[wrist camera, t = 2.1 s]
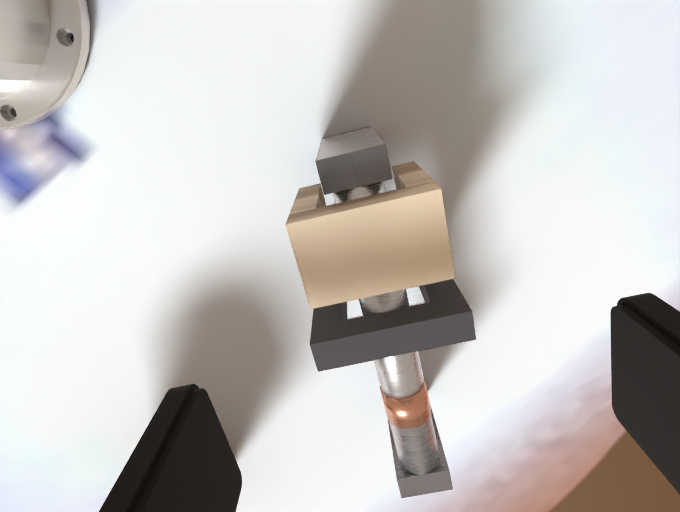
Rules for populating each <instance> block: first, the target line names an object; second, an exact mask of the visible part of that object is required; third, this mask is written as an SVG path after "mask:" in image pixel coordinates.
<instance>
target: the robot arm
mask: <svg viewBox="0 0 680 512" xmlns="http://www.w3.org/2000/svg"><path fill="white" fill-rule="evenodd" d="M72 34H73V37H74V41H73V42H72V41H71V35H72ZM89 40H90V22H89V14H88V7H87V0H0V130H2V129H13V128H17V127H22V126H27V125H31V124H34V123H36V122H38V121H40V120H42V119H45V118H47V117H49V116H50V115H51V114H52V113H54V112H55V111H56V110H58V109H59V108H60V107H61V106H63V105H64V103H65V102H66V101H67V100H68V98H69V97H70V96H71V95H72V93H73V92H74V91H75V89H76V87H77V85H78V83H79V81H80V79H81V77H82V74H83V72H84V70H85V65H86V61H87V57H88V52H89ZM611 371H612V407H613V410H614V413H615V415H616V417H617V419H618V420H619V422H620V423H621V424H622V426H623V427H624V428H625V429H626V430H627V432H628V433H629V434H630V435H631V436H632V438H633V439H634V440H635V441H636V442H637V444H638V445H639V446H640V447H641V448H642V450H643V451H644V452H645V453H646V454H647V456H648V457H649V458H650V459H651V460H652V461H653V463H654V464H655V465H656V466H657V468H658V469H659V470H660V471H661V472H662V474H663V475H664V476H665V477H666V478H667V480H668V481H669V482H670V483H671V484H672V485H673V487H674V488H675V489H676V490H677V492H678V493H679V494H680V312H679V311H678V310H676V309H675V308H673V307H672V306H670V305H669V304H667V303H666V302H664V301H663V300H661V299H660V298H658V297H657V296H655V295H653V294H651V293H645V294H640V295H635V296H630V297H625V298H621V299H620V300H619V301H618V303H617V306H615V307H613V308H612V309H611ZM241 487H242V477H241V472H240V469H239V467H238V464H237V462H236V460H235V457H234V455H233V453H232V450H231V448H230V446H229V443H228V441H227V438H226V436H225V434H224V431H223V429H222V427H221V424H220V422H219V419H218V417H217V415H216V412H215V410H214V408H213V405H212V403H211V400H210V398H209V396H208V393H207V392H206V390H205V389H199V387H198V386H197V385H195V384H191V385H186V386H181V387H176V388H172V389H169V391H168V392H167V393H166V395H165V397H164V399H163V400H162V402H161V404H160V406H159V407H158V409H157V411H156V413H155V414H154V416H153V418H152V420H151V421H150V423H149V425H148V427H147V428H146V430H145V432H144V434H143V435H142V437H141V439H140V441H139V442H138V444H137V446H136V448H135V449H134V451H133V453H132V455H131V456H130V458H129V460H128V462H127V463H126V465H125V467H124V469H123V470H122V472H121V474H120V476H119V477H118V479H117V481H116V483H115V484H114V486H113V488H112V490H111V491H110V493H109V495H108V497H107V498H106V500H105V502H104V504H103V505H102V507H101V509H100V511H99V512H236V507H237V503H238V499H239V495H240V491H241Z"/></svg>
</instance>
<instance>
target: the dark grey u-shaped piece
mask: <svg viewBox="0 0 680 512" xmlns="http://www.w3.org/2000/svg"><path fill="white" fill-rule="evenodd" d="M419 288H420V290H421V293H422V295H423V298H424V300H425V302H426V304H422V305H417V306H412V307H408V308H403V309H398V310H393V311H389V312H384V313H379V314H374V315H370V316H365V317H360V318H356V319H351V320H347V302H342V303H337V304H333V305H328V306H323V307H319V308H314V311H313V320H312V330H311V339H310V347H311V350H312V353H313V356H314V360H315V363H316V366H317V370H318V371H323V370H328V369H333V368H338V367H343V366H348V365H353V364H358V363H363V362H368V361H373V360H377V359H382V358H387V357H392V356H397V355H402V354H407V353H412V352H417V351H422V350H427V349H432V348H437V347H441V346H446V345H451V344H456V343H461V342H466V341H471V340H476V336H475V329H474V322H473V315H472V310H471V309H470V307H469V305H468V304H467V302H466V300H465V299H464V297H463V295H462V294H461V292H460V290H459V289H458V287H457V285H456V284H455V282H454V280H453V279H450V280H445V281H440V282H436V283H431V284H426V285H422V286H419Z"/></svg>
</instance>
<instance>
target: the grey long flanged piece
mask: <svg viewBox="0 0 680 512" xmlns="http://www.w3.org/2000/svg"><path fill="white" fill-rule="evenodd" d="M316 165H317V169H318V173H319V177H320V181H321V185H322V188H323V192H324V195H326V194H330V193H333V196H334V200H335V204H337V203H341V202H345V201H350V200H354V199H358V198H363V197H367V196H371V195H375V194H380V193H384V192H386V189H385V184H384V181H385V180H389V179H392V175H391V170H390V164H389V159H388V154H387V149H386V144H385V143H384V141H383V140H382V139H381V138H380V137H379V135H378V134H377V133H376V132H375V130H374V129H373V128H372V127H367V128H363V129H359V130H355V131H351V132H347V133H343V134H339V135H335V136H331V137H327V138H323V139H322V140H321V143H320V147H319V150H318V154H317V157H316ZM359 301H360V305H361V309H362V313H363V317H365V316H370V315H374V314H379V313H384V312H389V311H393V310H398V309H403V308H408V307H409V302H408V298H407V293H406V289H403V290H398V291H394V292H389V293H384V294H380V295H375V296H370V297H366V298H361V299H359ZM374 362H375V366H376V370H377V374H378V378H379V382H380V389H381V393H382V398H383V402H384V406H385V410H386V414H387V418H388V423H389V430H390V437H391V443H392V450H393V457H394V463H395V470H396V476H397V482H398V486H399V489H400V493H401V497H402V498H405V497H411V496H417V495H422V494H428V493H434V492H439V491H445V490H451V489H453V487H452V482H451V477H450V472H449V468H448V464H447V461H446V458H445V454H444V451H443V447H442V444H441V440H440V437H439V433H438V430H437V427H436V423H435V420H434V416H433V413H432V409H431V406H430V402H429V397H428V392H427V387H426V382H425V378H424V376H423V372H422V367H421V362H420V357H419V352H418V351H417V352H412V353H407V354H402V355H397V356H392V357H387V358H382V359H377V360H374Z"/></svg>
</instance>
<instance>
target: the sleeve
mask: <svg viewBox="0 0 680 512" xmlns="http://www.w3.org/2000/svg"><path fill="white" fill-rule="evenodd" d="M392 168H393V174H394V179H395V184H396V189H397V190H392V191H388V192H384V193H380V194H375V195H371V196H367V197H363V198H358V199H354V200H350V201H345V202H341V203H337V204H332V205H328V206H326V203H325V199H324V195H323V191H322V187H321V184H316V185H312V186H308V187H304V188H300V189H299V191H298V193H297V196H296V199H295V201H294V204H293V207H292V209H291V212H290V214H289V217H288V220H287V222H286V228H287V231H288V234H289V238H290V241H291V245H292V248H293V251H294V255H295V258H296V261H297V265H298V268H299V272H300V275H301V278H302V282H303V285H304V289H305V292H306V295H307V299H308V302H309V305H310V309H314V308H319V307H323V306H328V305H333V304H337V303H342V302H347V301H351V300H356V299H361V298H366V297H370V296H375V295H380V294H384V293H389V292H394V291H398V290H403V289H408V288H412V287H417V286H422V285H426V284H431V283H436V282H440V281H445V280H450V279H454V278H455V274H454V268H453V261H452V255H451V248H450V242H449V236H448V229H447V223H446V216H445V210H444V203H443V197H442V191H441V188H440V187H439V186H438V185H437V184H436V183H435V182H434V181H433V180H432V179H431V178H430V177H429V176H428V175H427V174H426V173H425V172H424V171H423V170H422V169H421V168H420V167H419V166H418V165H417V164H416V163H415V162H414V161H413V162H409V163H405V164H401V165H396V166H392Z"/></svg>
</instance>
